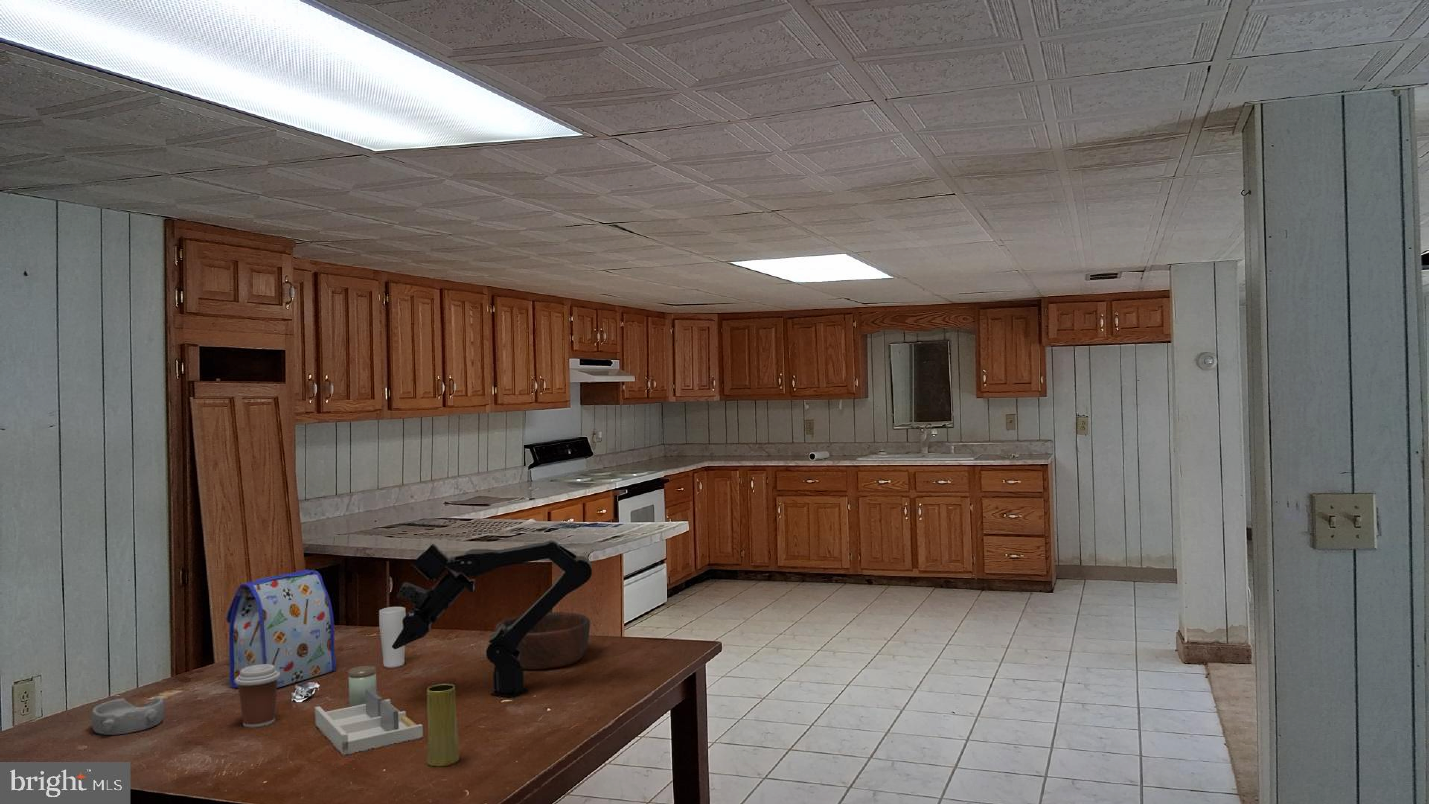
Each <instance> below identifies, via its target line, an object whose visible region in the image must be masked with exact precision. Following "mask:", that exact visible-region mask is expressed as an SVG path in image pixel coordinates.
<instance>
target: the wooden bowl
mask: <svg viewBox="0 0 1429 804" xmlns="http://www.w3.org/2000/svg"><path fill="white" fill-rule="evenodd" d="M522 615H523V614H522ZM522 615H521V614H520V615H516V616H513V617H512V616H511V617H509V618H505V619H502V620H501V621H499V622H498V623H497V624H495V629H494V630H495V631H494V632H496V631H498V629H499V628H500V627H501V625H502V624H504V625H505V626H506V628H507V627H509V626H510V625H512V624H514V623H515V622H516V621H517V620H518V619H519V618H520V617H521V616H522ZM590 629H591V620H590V618H589V617H588V616H586V615H584V614H580V613H574V612H563V611H562V612H561V611H560V612H559V611H549V612H548V613H547V614H546V615H545V616H544V617H543V618H542V619H541V620H540V621H539V622H538V623H537V624H536V625H535V626H534V627H533V628H532V629H531V630H530V631H529V632H528V633H527V634H526V635H525V636H524V637H523V639H522V640H521V642H520V644H519V645H518V647H517V648H516V649H517V650H519V651H520V652H521V653H522V655H521V660H520V665H521V666H523V670H527V671H529V670H531V671H532V670H533V671H534V670H536V671H537V670H539V671H540V670H549V669H550V670H551V669H556V668H557V669H558V668H562V667H566V666H570V665H572V664H575V663H577V662H579V661H580V660H581V659H582V657H583V656H584V654H585V652H586V650H587V648H588V647H587V646H588V644H589V640H590V639H589V637H590Z"/></svg>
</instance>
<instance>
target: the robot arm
mask: <svg viewBox="0 0 1429 804" xmlns="http://www.w3.org/2000/svg"><path fill="white" fill-rule="evenodd" d="M542 560H550V561H551V562H552V563H554V565H556V566H557V567H558V568H559V569H561V570H562V571H561V573H560V575H559V577H558V578H557V580H556V581H555V582H554V583H553V584H552V585H551V586H550V587H549V588H548V589H547V590H546V591H545V592H544V593H543V594H542V595H541V596H540V597H539V598H538V599H537V600H536V602H534V603H532V605H531V606H530V607H529V608H528V609H527V610H526V611H525V612H524V613H523V614H522V616H521V617H520V618H519V619H518V620H517V621H516V622H515V623H514V624H512V625H510V626H509V627H507V628H506V626H505V625H504V624H502V625H501V627H500V628H499V629H498V631H494V633H491V635H490V637H489V640H488V644H487V646H486V647H487V648H486V652H485V653H486V654H485V655H486V658H487V660H488V661H489V662H490V663H492V664H494V667H493V674H492V675H493V676H492V677H493V680H492V681H493V691H490V695H491V696H497V697H498V696H499V697H505V698H513V697H516V696H518V695H520V694H522V693H524V692H527V691H528V690H529V687H525V684H524V683H525V681H524V669H523V666H521V665H520V660H521V655H522V653H521V652H520V651H519V650H517V649H516V648H517V647H518V645H519V644H520V642H521V640H522V639H523V637H524V636H525V635H526V634H527V633H528V632H529V631H530V630H531V629H532V628H533V627H534V626H535V625H536V624H537V623H538V622H539V621H540V620H541V619H542V618H543V617H544V616H545V615H546V614H547V613H548V612H551V611H552V610H553V609H554V608H555V607H556V605H558V603H560V602H561V600H563V598H565V597H566V596H567V595H569V594H571V593H572V592H574V591H576V590H578V589H579V588H580V587H582V586H583V585H585V584H586V583H587V582H588V581H589V580H591V578H592V575H593V569H592V568H593V567H592V564H591V563H592V562H591V561H590V560H589V559H588V558H587V557H586V556H583V555H582V556H581V555H576V554H575V553H573V552H572V551H571V550H568V549H567V548H565V547H564V546H562V545H561V544H559V543H558V542H557V541H556V540H553V539H549V540H547V541H545V542H538V543H537V542H536V543H531V544H526V545H519V546H514V547H509V548H503V549H490V548H489V549H488V548H487V549H486V548H472V549H469V550H467V551H466V552H465V553H464V554H462V555H456V556H451V557H448V556H447V555H446V554H444V552H443V551H441V550H440V549H439V547H438V546H437V545H436V544H434V543H431V545H430V546H429V547H428V548H427V549H426V550H425V551H423V552H422V553H420V555H419V556H418V557H417V558H416V559H415V561H414V562H412V563H411V566H412V567H414V569H416V570H417V571H418V572H419V573H420V574H421V575H423V576H424V577H425V578H426V579H427V581H430V580H432V581H433V580H435V581H436V580H438V579H439V578H440V577H441V575H442V574H443V573H444V572H446V573H445V574H444V575H443V576H442V577H441V578H440V579H439V580H438V581H437V582H436V584H435V585H433V586H431V587H430V588H428V589H425V588H422V587H421V586H417V585H416V584H412V583H410V582H407V581H404V582H403V583H402V584H401V587H400V588H399V590H398V593H397V595H396V597H397V599H399V600H401V601H402V600H404V601H406V602H408V603H412V604H413V606H412V607H411V610H409V612H408V613H406V616H405V617H404V618H403V620H402V623H403V630H402V631H401V633H400V634H399V636H398V637H397V639H396V641H395V642H394V644H393V645H392V648H393V649H398V648H400V647H402V646H404V645H405V646H406V645H408V644H410V643H412V642H414V641H417V640H419V639H422V638H424V637H425V636H426V635H427V634H428V632H430V631H431V629H432V624H434V623H435V622H436V621H437V619H438V618H439V617H440V616H441V614H443V613H444V612H445V611H446V610H447V609H448V608H449V607H450V605H451V604H452V603H453V602H454V601H455V600H456V599H457V598H458V597H459V596H460V595H461V594H462V593H463V591H465V590H466V589H467V591H468V592H469V593H474V591H475V589H476V587H475V582H476V579H475V578H474V577H477V576H482V575H484V574H486V573H488V572H491V571H494V570H495V569H496V570H497V569H498V568H501V567H506V566H514V565H518V564H519V565H520V564H524V563H530V562H535V561H542ZM468 577H469V578H468ZM470 578H472V579H470ZM473 578H474V579H473Z"/></svg>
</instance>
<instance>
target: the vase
mask: <svg viewBox="0 0 1429 804" xmlns="http://www.w3.org/2000/svg"><path fill="white" fill-rule="evenodd" d="M455 686H456V685H454V684H452V683H438V684H434V685H431V686H429V687H427V689H426V706H427V708H426V709H427V738H428V739H427V756H426V757H427V758H426V763H427V765H428V766H431V767H445V766H450V765H453V764H455V763H457V762H459V760H460V755H459V754H460V753H459V738H458V737H459V736H458V723H457V721H458V719H457V708H456V707H457V704H456V687H455Z"/></svg>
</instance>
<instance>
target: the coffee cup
mask: <svg viewBox="0 0 1429 804" xmlns="http://www.w3.org/2000/svg"><path fill="white" fill-rule="evenodd" d="M279 678H280V672H278V671H277V670H275V666H274V665H270V664H261V665H253V666H249V667H245V668H243V669H242V670H241V671H240V674H239V676H238V677H236V679H235V683H236V684H237V685H238V686H239V688H238V691H239V692H238V693H239V700H240V708H241V709H240V710H241V715H242V716H241V717H242V718H241V719H242V725H243V727H245V728H259V727H265V726H268V725H271V724H273V723H275V722H276V710H277V709H276V707H277V691H278V688H277V679H279ZM272 722H273V723H272ZM264 725H265V726H264Z"/></svg>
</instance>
